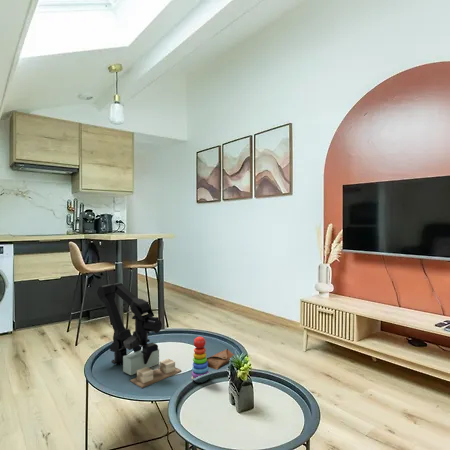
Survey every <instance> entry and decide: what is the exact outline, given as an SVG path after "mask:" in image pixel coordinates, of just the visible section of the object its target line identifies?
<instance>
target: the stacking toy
mask: <svg viewBox="0 0 450 450" xmlns="http://www.w3.org/2000/svg"><path fill="white" fill-rule="evenodd" d="M193 345H194V347H195V348H194V349H193V351H194V353H193V359H192V360H193V362H192V371H191V380H192V379H194V378H196V377H198V376H201V375H204V374H207V373H209V374H210V371H209V367H208V366H207V365H208V362H207V358H208V357H207V353H206V350H207V349H206V348H205V346H206V339H205V338H204V337H203V336H197V337H195V338H194V340H193Z"/></svg>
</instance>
